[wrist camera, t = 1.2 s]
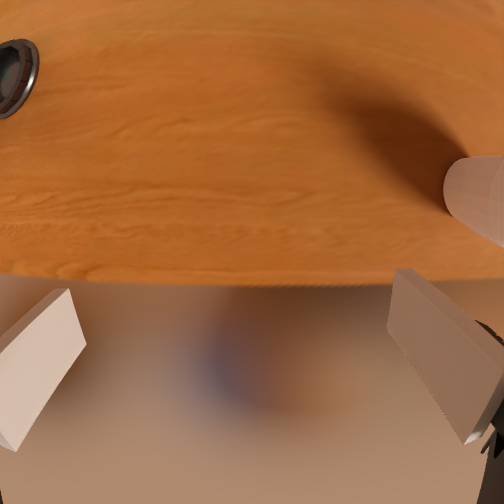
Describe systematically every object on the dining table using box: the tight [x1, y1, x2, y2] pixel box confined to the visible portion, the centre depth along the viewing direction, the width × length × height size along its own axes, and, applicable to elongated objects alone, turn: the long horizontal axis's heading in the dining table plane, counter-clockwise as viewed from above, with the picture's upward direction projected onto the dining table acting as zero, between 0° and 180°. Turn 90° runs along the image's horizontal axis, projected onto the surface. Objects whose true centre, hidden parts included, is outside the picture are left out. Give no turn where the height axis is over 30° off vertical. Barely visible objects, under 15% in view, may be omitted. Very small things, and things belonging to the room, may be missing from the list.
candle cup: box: [0, 39, 39, 119], centre depth 27 cm, size 13×13×3 cm
